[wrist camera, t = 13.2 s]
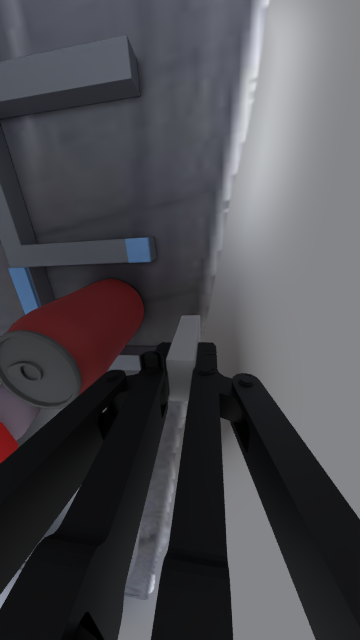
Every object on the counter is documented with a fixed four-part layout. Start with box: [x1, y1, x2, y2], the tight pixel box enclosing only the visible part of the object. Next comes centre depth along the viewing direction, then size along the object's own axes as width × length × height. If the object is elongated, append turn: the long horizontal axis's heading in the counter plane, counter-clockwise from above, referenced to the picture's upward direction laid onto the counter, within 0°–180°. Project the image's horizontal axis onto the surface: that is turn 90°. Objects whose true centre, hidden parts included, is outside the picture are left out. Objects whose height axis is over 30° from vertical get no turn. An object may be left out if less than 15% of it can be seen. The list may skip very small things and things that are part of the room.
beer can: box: [0, 279, 144, 409], centre depth 17 cm, size 7×7×12 cm
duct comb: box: [0, 35, 157, 370], centre depth 20 cm, size 26×14×2 cm, turn 3°
